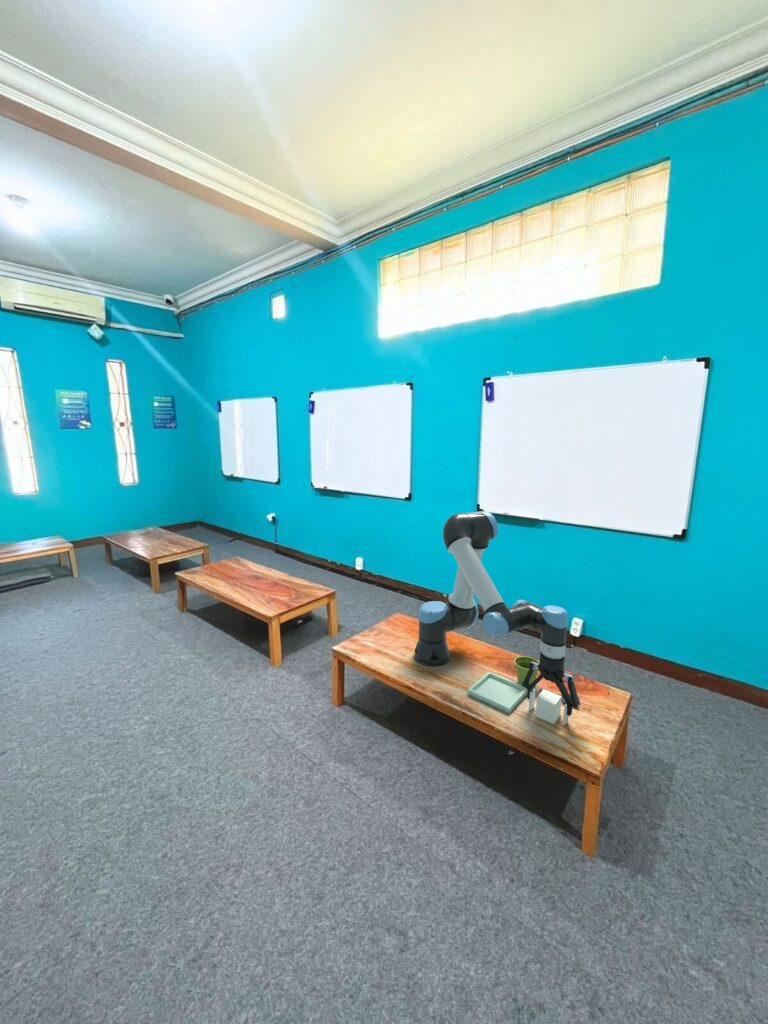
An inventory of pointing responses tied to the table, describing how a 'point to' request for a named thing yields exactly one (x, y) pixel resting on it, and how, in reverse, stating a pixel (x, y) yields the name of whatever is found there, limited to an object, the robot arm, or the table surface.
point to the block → (548, 706)
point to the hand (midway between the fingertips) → (548, 715)
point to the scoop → (562, 697)
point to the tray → (498, 692)
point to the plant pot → (525, 668)
